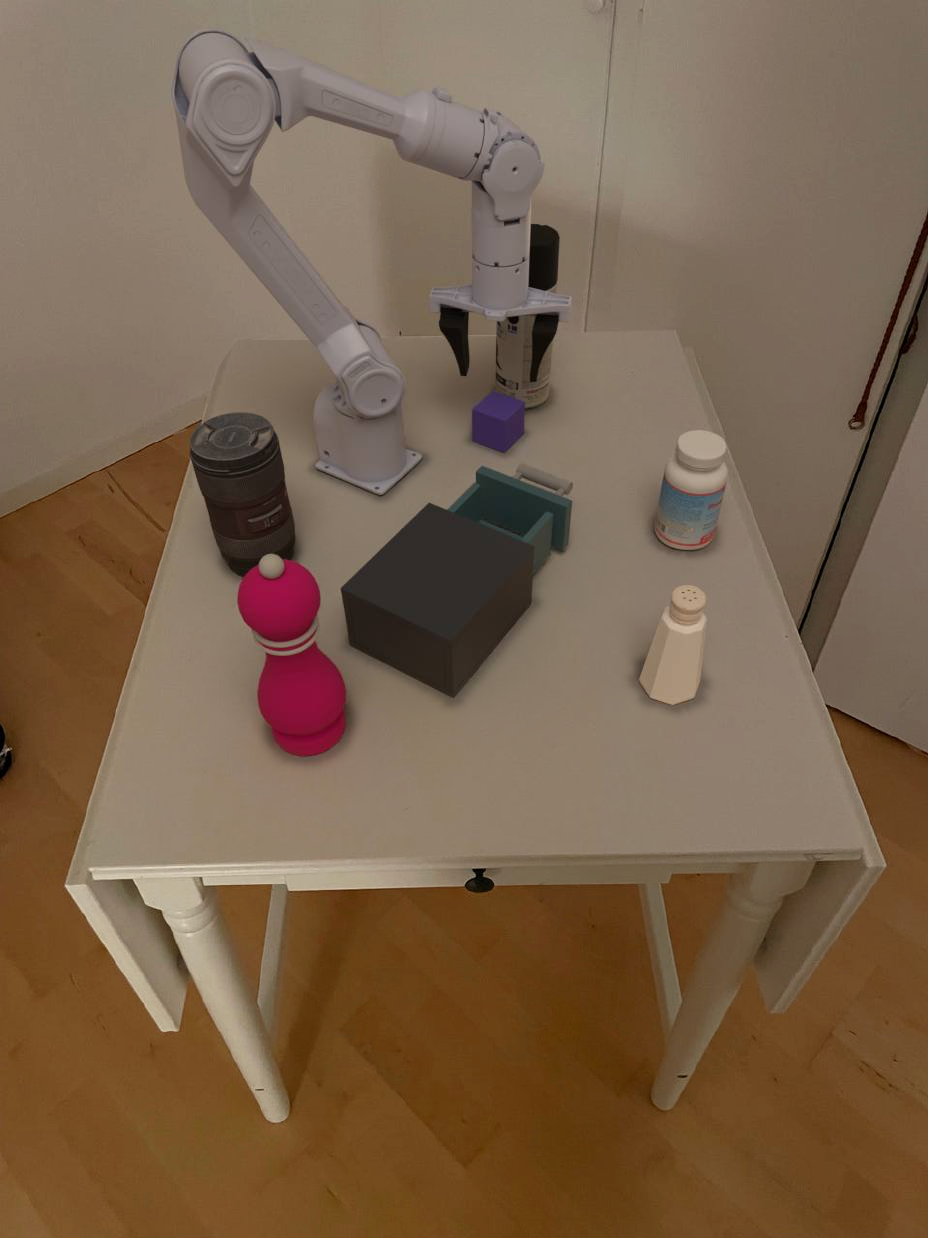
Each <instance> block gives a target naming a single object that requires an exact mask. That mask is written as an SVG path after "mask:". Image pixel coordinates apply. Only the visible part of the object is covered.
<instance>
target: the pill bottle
mask: <svg viewBox="0 0 928 1238" xmlns="http://www.w3.org/2000/svg"><path fill="white" fill-rule="evenodd" d="M674 452H675V453H674V454H672V455H671V456H670V457H669V458H668V459H667V462H666V463H665V465H664V470H663V471H664V472H663V477H662V483H661V488H660V492H659V493H660V494H659V499H658V503H657V509H656V516H655V522H654V532H655V535H656V536H657V538H658V540H660V541H661V542H662V543H663V544H664V545H666V546H668V547H670V548H672V549H677V550H681V551H682V550H684V551H695V550H700V549H703V548H705V547H706V546H708V545H709V544H710V543H711V542H712V540H713V538H714V537H715V533H716V529H717V524H718V521H719V516H720V512H721V508H722V504H723V500H724V495H725V490H726V488H727V487H726V486H727V482H728V477H729V471H728V467H727V465H726V463H725V458H726V452H727V443H726V441H725V439H723V438H722V437H721V436H720V435H718V434H716V433H714V432H713V431H709V430H703V429H693V430H688V431H686V432H683V433H682V434H681V435H680V436H679V437H678V439H677V441H676V446H675V450H674Z"/></svg>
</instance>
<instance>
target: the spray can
mask: <svg viewBox="0 0 928 1238" xmlns="http://www.w3.org/2000/svg"><path fill="white" fill-rule="evenodd" d="M560 240H561V238H560V234H559V232H558V230H556V229H555V228H554V227H552V226H550V225H548V224H540V223H531V228H530V254H529V282H528V287H531V288H535V289H539V290H542V291H546V292H550V293H554V294H557V290H558V281H559V279H558V278H559V261H560V260H559V259H560V257H559V256H560ZM534 321H535V317H531V316H512V317H506V319H505V320H504V321H496V329H495V331H496V332H495V333H496V334H495V377H494V379H495V381H494V383H495V388H494V389H495V390H494V391H495V392H498V393H500V394H503V395H506V396H509V397H512V398H515V399H518V400H521V401H524V402H525V411H526V410H533V409H535V408H538V407H540V406H541V405H543V404H544V403H545V402H546V401H547V400H548V397H549V395H550V387H551V375H552V374H551V373H552V362H553V361H552V359H553V345H554V344H553V342H554V339H553V340H552V342H551V343H550V345H549V347H548V348H547V350H546V352H545V354H544V356H543V358H542V361H541V363H540V366H539V370H538V376H537V381H536V382H530V370H531V362H532V329H533V324H534Z"/></svg>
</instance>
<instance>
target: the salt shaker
mask: <svg viewBox="0 0 928 1238" xmlns="http://www.w3.org/2000/svg"><path fill="white" fill-rule="evenodd" d="M706 604H707V595H706V594H705V592H704V591H703V590H702V589H701V588H699V587H697V586H695V585H692V584H684V585H683V584H682V585H679V586H677V587H675V588H673V590H672V592H671V595H670V603H669V605H666V606H665V608H664V610H663V613H662V615H661V617H660V620H659V623H658V625H657V628H656V631H655V634H654V637H653V639H652V642H651V645H650V647H649V650H648V653H647V656H646V658H645V661H644V664H643V667H642V671H641V673H640V675H639V678H638V682H639V683H640V684H641V686H642V688H643V689H644V691H645V692H646V694H647V695H648V697H649V698H650V699H652V700H656V701H659V702H662V703H664V704H668V705H671V706H674V705H677V704H681V703H683V702H687V701H689V700H693V699H695V697H696V694H697V692H698V688H699V685H700V683H701V677H702V669H703V660H704V659H703V658H704V650H705V643H706V641H705V640H706V631H707V621H708V620H707V616H706V615H705V614H704V610H705V606H706Z"/></svg>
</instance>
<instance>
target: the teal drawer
mask: <svg viewBox="0 0 928 1238" xmlns="http://www.w3.org/2000/svg"><path fill="white" fill-rule="evenodd" d="M521 479H524V480H527V481H529V482H532V483H534V484H537V485H540V486H543V487H545V488H548V489H550V490H553V491H556V492H555V493H554V492H552V491H549V490H546V489H544V488H541V487H539V486H536V485H534V484H530V483H528V482H525V481H523V480H521ZM573 488H574V483H573V481H570V480H568V479H565V478H563V477H560V476H558V475H555V474H553V473H550V472H547V471H544V470H541V469H539V468H536V467H534V466H531V465H528V464H526V463H523V462H520V463H519V464H518V465H517V467H516V471H515V473H514V474H513V475H512V476H510V475H508V474H504V473H502V472H500V471H497V470H495V469H492V468H489V467H487V466H484V465H481V466H479V467H478V468H477V470H475V482H473V483H472V484H471V485H470V486H469V487H468V488H467V489H466V490H465V491H464V492H463V493H462V494H461V495H460V496H459V497H458V498H457V499H456V500H455V501H454V502H453V503H452V504H451V505H450V506H449V507H448V508H447V509H446V510H449V511H451V512H453V513H456V514H458V515H461V516H463V517H465V518H468V519H470V520H473V521H475V522H477V523H480V524H482V525H485V526H487V527H489V528H492V529H494V530H497V531H499V532H502V533H504V534H506V535H509V536H511V537H514V538H516V539H518V540H521V541H523V542H526V543H528V544H530V545H533V546H534V561H533V575H534V574H535V573H536V572H537V571H538V570H539V568H540V567H541V566H542V565H543V563H544V562H545V561H546V560H547V559H548V557H549V556H550V555H551V551H552V547H553V548H554V549H557V550H559V551H563V552H564V551H565V549H566V548H567V547H568V546H569V543H570V531H571V519H572V508H573V500H572V499H570V498H567V497H564V496H565V495H566V496H569V495H570V494H571V492H572V490H573ZM482 519H483V520H482ZM485 520H486V521H485ZM487 521H489V522H487ZM490 522H492V523H490ZM493 523H494V524H496V525H494V524H493ZM497 525H499V526H502V527H499V526H497ZM505 528H506V529H505ZM507 529H508V530H507ZM509 530H511V531H509ZM512 531H513V532H512ZM514 532H516V533H514ZM517 533H518V534H517ZM519 534H521V535H523V536H521V535H519Z"/></svg>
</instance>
